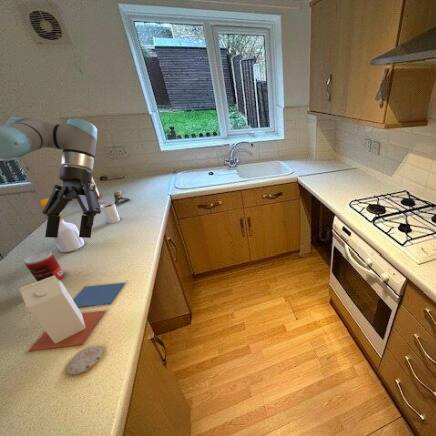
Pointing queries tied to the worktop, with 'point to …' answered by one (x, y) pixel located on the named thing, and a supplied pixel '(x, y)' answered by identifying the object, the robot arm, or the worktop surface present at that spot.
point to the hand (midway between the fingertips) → (67, 237)
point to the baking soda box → (96, 188)
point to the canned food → (43, 265)
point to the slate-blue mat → (97, 295)
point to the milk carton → (53, 308)
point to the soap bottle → (66, 234)
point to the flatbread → (84, 359)
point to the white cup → (110, 212)
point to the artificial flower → (117, 195)
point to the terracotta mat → (74, 340)
